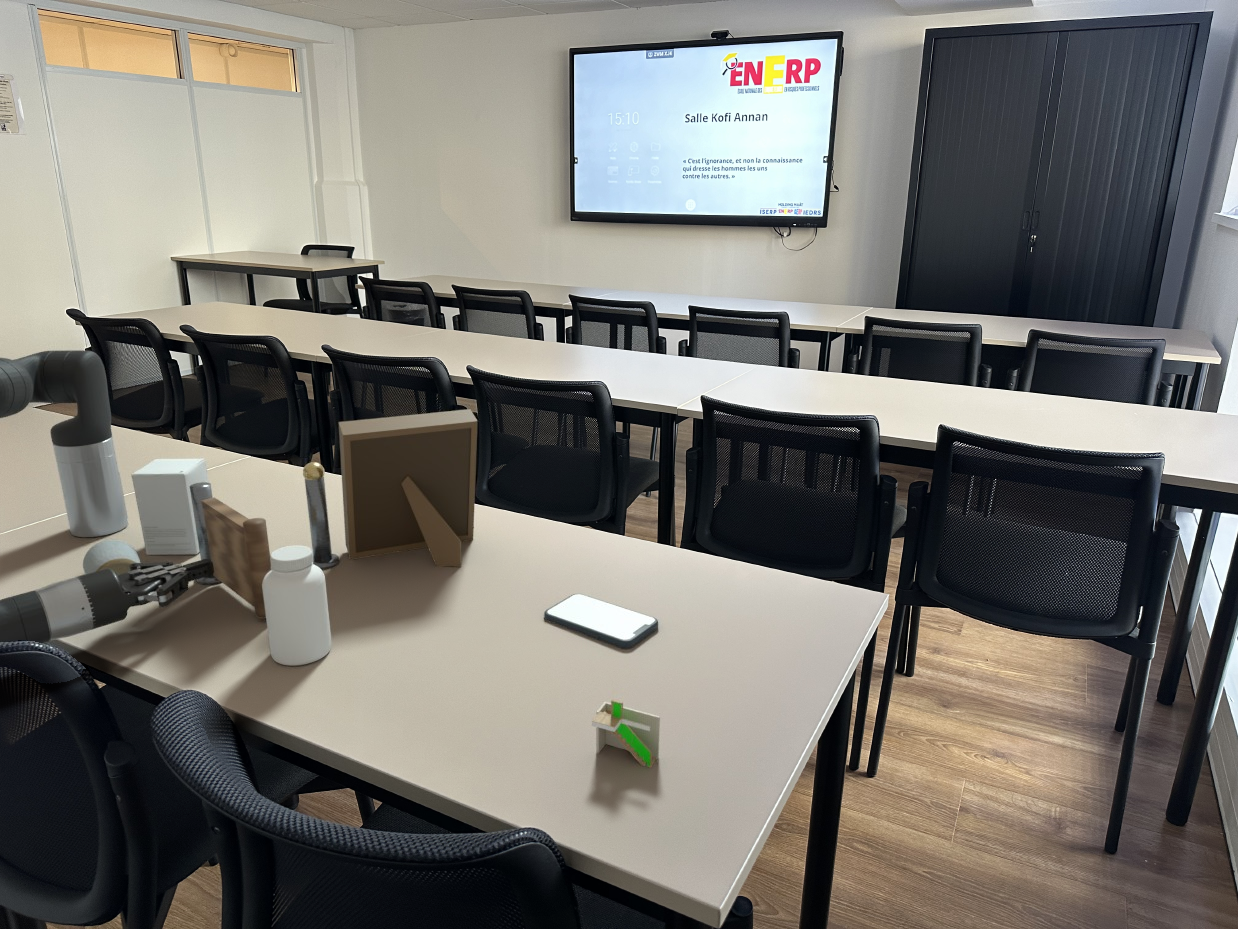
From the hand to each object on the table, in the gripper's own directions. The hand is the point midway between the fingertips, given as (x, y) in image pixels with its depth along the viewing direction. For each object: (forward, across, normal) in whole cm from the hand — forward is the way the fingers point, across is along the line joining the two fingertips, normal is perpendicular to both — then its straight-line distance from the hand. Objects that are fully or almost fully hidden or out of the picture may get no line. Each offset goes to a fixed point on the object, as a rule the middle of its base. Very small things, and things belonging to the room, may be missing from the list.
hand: (211, 566), depth 127 cm
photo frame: (+32, -5, +7) cm, 33 cm away
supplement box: (+5, +28, +7) cm, 29 cm away
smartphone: (+38, -44, +8) cm, 59 cm away
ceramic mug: (-8, +16, +7) cm, 19 cm away
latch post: (+19, +4, +7) cm, 21 cm away
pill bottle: (+3, -21, +7) cm, 23 cm away
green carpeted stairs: (+19, -68, +8) cm, 71 cm away
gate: (+4, -1, +6) cm, 7 cm away
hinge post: (+4, +11, +7) cm, 14 cm away
